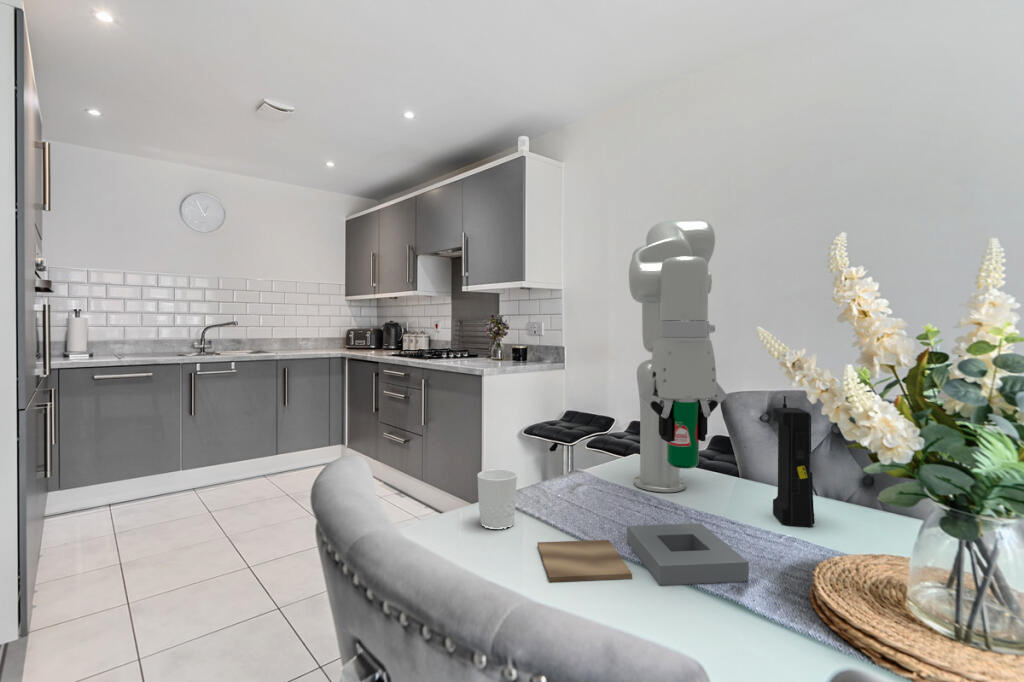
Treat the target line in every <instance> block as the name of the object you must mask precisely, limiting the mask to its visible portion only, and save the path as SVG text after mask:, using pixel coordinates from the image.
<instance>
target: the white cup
mask: <svg viewBox="0 0 1024 682" xmlns="http://www.w3.org/2000/svg"><path fill="white" fill-rule="evenodd" d="M517 481H518V474H517V472H515V471H513V470H510V469H502V468H501V469H500V468H495V469H493V468H492V469H487V470H482V471H479V472H478V473H477V494H478V495H477V496H478V497H477V499H478V510H479V523H480V522H481V524H483V525H485V526H488V527H493V528H500V527H507V526H510V525H512V524H513V523H514V524H515V514H516V513H515V512H516V501H517V484H518V483H517ZM481 524H480V525H481ZM514 524H513V525H514Z"/></svg>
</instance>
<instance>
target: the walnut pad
mask: <svg viewBox="0 0 1024 682" xmlns="http://www.w3.org/2000/svg"><path fill="white" fill-rule="evenodd" d="M537 549H539V550H538V552H540V553H539V556H540V555H541V556H540V559H541V562H542V563H543V567H544V571H545V574H546V577H547V580H548V582H549V583H561V582H562V583H565V582H567V583H568V582H585V581H587V582H588V581H608V580H609V581H610V580H632V579H633V573H632V571H631V570H630V568H629V567H628V565H627V564H626V563H625V561H624V560H623V558H622V556H621V555H620V554H619V552H618V550H616V548H615V547H614V545H613V544H612V542H611V541H610V539H593V540H592V539H591V540H569V541H567V540H566V541H565V540H563V541H561V540H560V541H537Z"/></svg>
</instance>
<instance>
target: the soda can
mask: <svg viewBox="0 0 1024 682" xmlns="http://www.w3.org/2000/svg"><path fill="white" fill-rule="evenodd" d="M691 397H692V396H685V397H684V399H679V400H673V403H672V407H671V410H670V413H669V418H671V419H672V441H671V442H667V462H668V463H669V464H670V465H671V466H673V467H676V468H680V469H684V470H685V469H687V470H688V469H693V468H696V467H698V465H699V460H700V459H699V457H700V456H699V455H700V453H699V451H700V450H699V449H700V447H699V446H700V442H699V441H700V440H699V401H698V400H696V399H693V398H691Z"/></svg>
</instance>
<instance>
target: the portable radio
mask: <svg viewBox="0 0 1024 682" xmlns="http://www.w3.org/2000/svg"><path fill="white" fill-rule="evenodd" d="M786 397H787V395H783V403H782V407H774V408H773V421H774V422H776V423H777V425H778V427H777V428H778V429H777V431H778V432H777V435H778V436H777V437H778V438H777V496H776V498H772V514H773V516H774V517H775V518H776V519H777V520H778V521H779V523H780V524H781V525H786V526H793V527H804V528H805V527H808V528H811V527H813V525H815V522H816V521H815V510H814V506H815V505H814V489H813V488H814V487H813V485H814V484H813V472H811V454H812V415H811V413H810V412H809V411H806V410H804V409H801V408H799V407H788V405H787V403H786V401H787V400H786Z"/></svg>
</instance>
